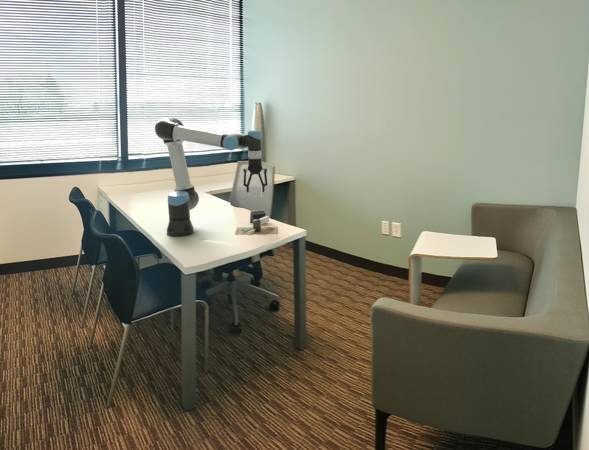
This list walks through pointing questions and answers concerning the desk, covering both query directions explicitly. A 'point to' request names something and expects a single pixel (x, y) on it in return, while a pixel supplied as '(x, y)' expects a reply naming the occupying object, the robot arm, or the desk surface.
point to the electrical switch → (256, 215)
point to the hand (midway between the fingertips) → (255, 197)
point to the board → (263, 231)
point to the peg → (259, 223)
